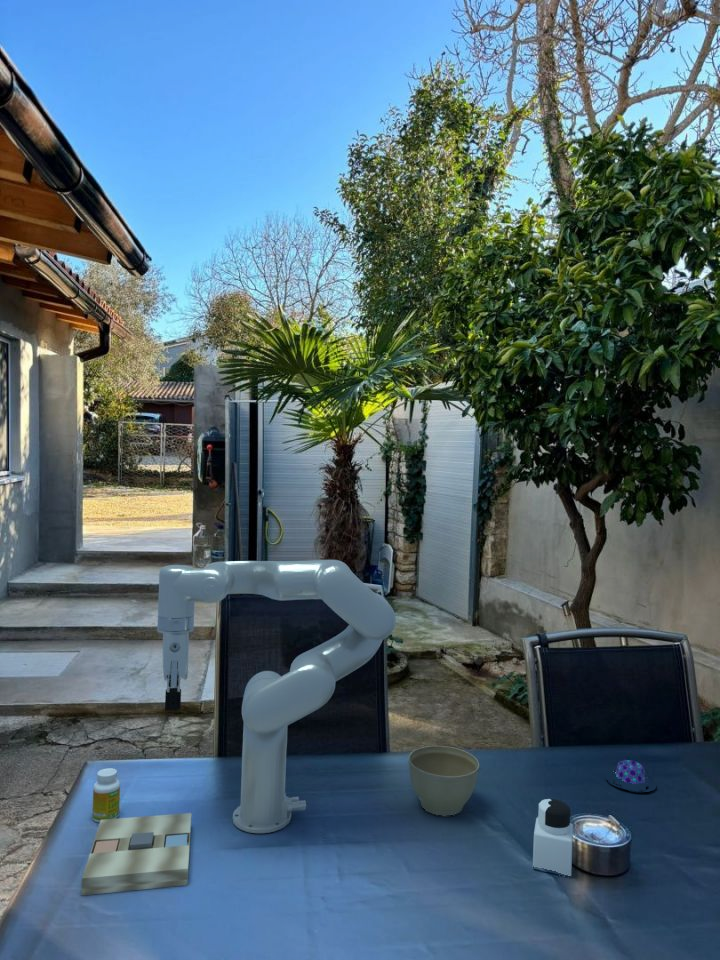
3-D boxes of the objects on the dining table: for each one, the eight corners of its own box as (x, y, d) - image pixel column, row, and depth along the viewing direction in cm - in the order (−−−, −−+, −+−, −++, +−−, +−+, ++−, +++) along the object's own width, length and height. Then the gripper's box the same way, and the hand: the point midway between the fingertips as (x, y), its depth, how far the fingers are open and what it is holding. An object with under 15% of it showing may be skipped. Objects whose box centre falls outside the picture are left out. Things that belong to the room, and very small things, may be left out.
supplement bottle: (109, 825, 138) (111, 779, 138) (86, 821, 139) (88, 775, 139) (123, 812, 143) (125, 768, 143) (101, 809, 144) (103, 765, 144)
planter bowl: (397, 815, 146) (399, 766, 146) (418, 785, 161) (420, 740, 161) (468, 832, 140) (470, 781, 140) (483, 799, 155) (485, 753, 155)
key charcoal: (153, 839, 129) (153, 832, 129) (151, 851, 125) (151, 843, 125) (131, 841, 128) (132, 833, 128) (129, 853, 124) (129, 845, 124)
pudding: (661, 799, 159) (662, 777, 159) (609, 792, 161) (609, 771, 161) (650, 777, 170) (651, 757, 170) (601, 771, 173) (602, 751, 173)
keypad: (190, 827, 138) (191, 812, 138) (187, 885, 119) (188, 868, 119) (100, 834, 134) (100, 819, 134) (81, 895, 115) (81, 878, 115)
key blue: (187, 841, 130) (187, 834, 130) (186, 853, 126) (186, 845, 126) (166, 843, 129) (166, 835, 129) (164, 855, 125) (165, 847, 125)
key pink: (118, 847, 127) (118, 839, 127) (115, 859, 123) (115, 851, 123) (96, 849, 126) (96, 841, 126) (92, 861, 122) (93, 853, 122)
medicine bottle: (571, 858, 131) (573, 798, 131) (571, 878, 125) (573, 815, 125) (535, 850, 134) (537, 792, 134) (532, 870, 127) (534, 808, 127)
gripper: (194, 631, 134) (191, 720, 134) (193, 615, 148) (190, 696, 148) (156, 632, 132) (153, 722, 132) (158, 616, 146) (155, 698, 146)
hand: (172, 708), depth 140 cm, fingers closed
